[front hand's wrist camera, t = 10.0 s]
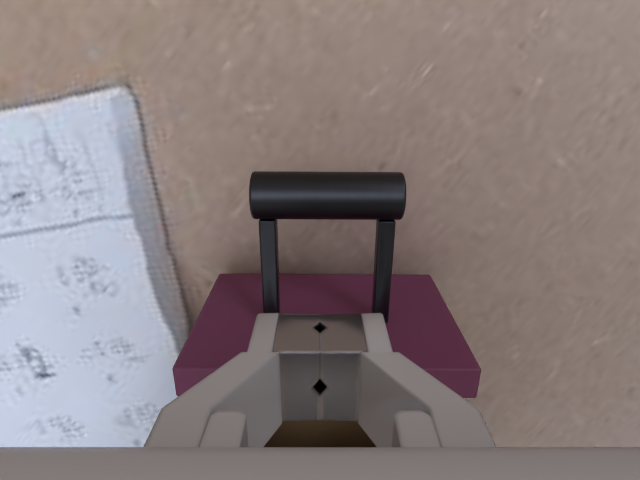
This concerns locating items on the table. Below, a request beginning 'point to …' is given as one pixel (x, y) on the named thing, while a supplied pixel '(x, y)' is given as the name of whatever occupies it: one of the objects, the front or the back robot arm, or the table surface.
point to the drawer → (328, 294)
